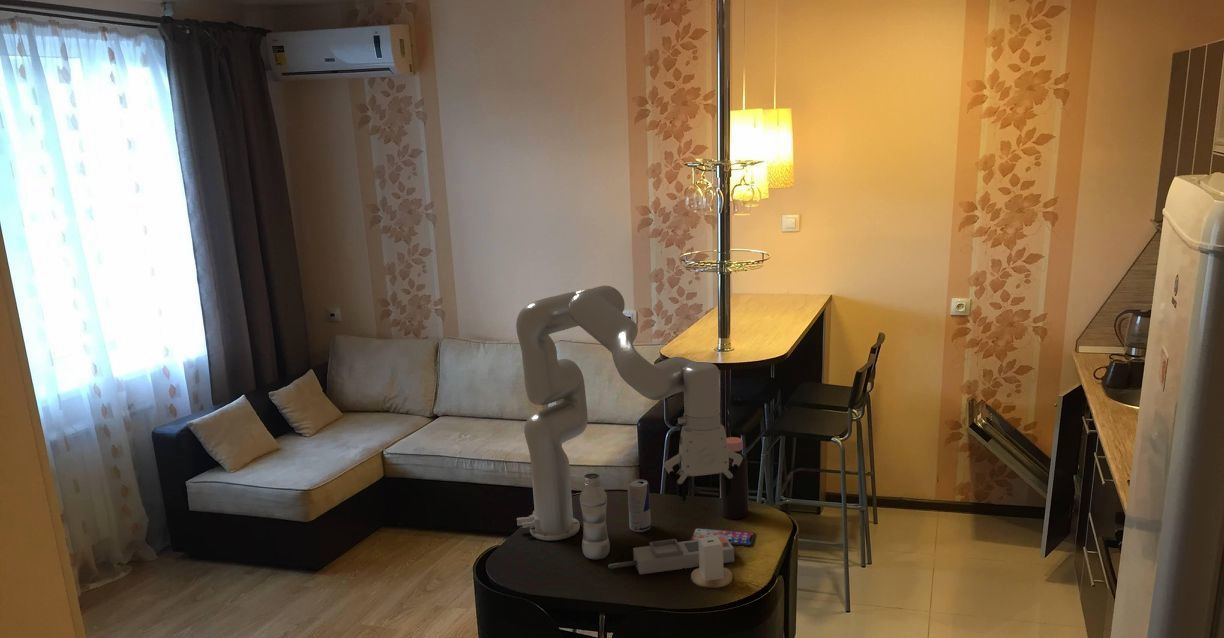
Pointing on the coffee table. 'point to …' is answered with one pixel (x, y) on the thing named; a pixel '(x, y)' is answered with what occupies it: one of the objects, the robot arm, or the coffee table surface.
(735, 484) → the vinegar
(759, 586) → the coffee table surface
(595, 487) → the plastic bottle
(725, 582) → the coaster
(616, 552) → the coffee table surface
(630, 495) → the energy drink
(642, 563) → the power strip
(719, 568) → the block
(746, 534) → the smartphone
